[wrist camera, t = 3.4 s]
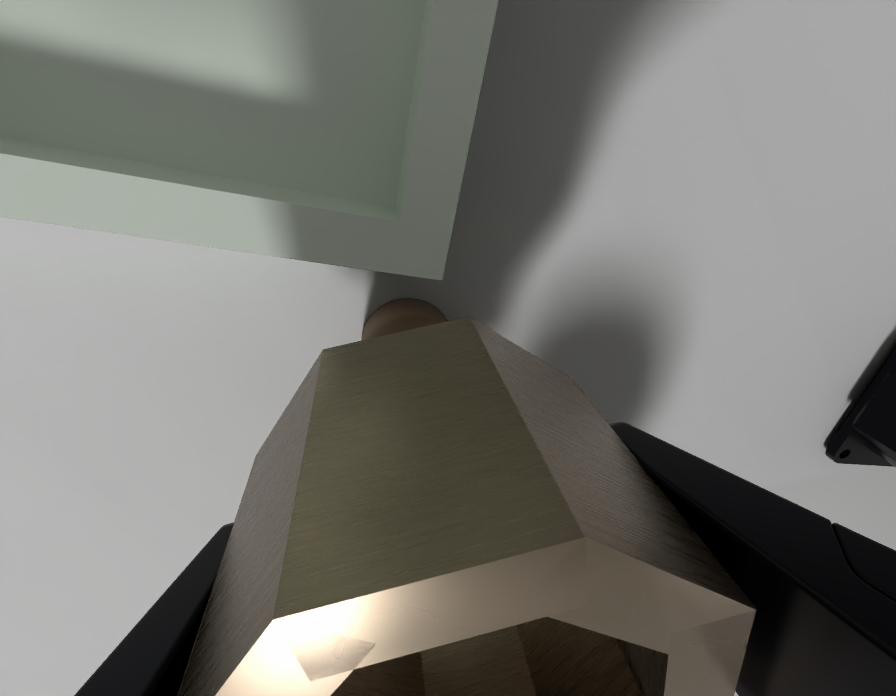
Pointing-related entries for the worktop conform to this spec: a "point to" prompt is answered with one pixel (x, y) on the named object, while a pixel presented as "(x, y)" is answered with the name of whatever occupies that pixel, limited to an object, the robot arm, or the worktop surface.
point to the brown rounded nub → (401, 317)
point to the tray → (246, 122)
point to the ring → (459, 542)
